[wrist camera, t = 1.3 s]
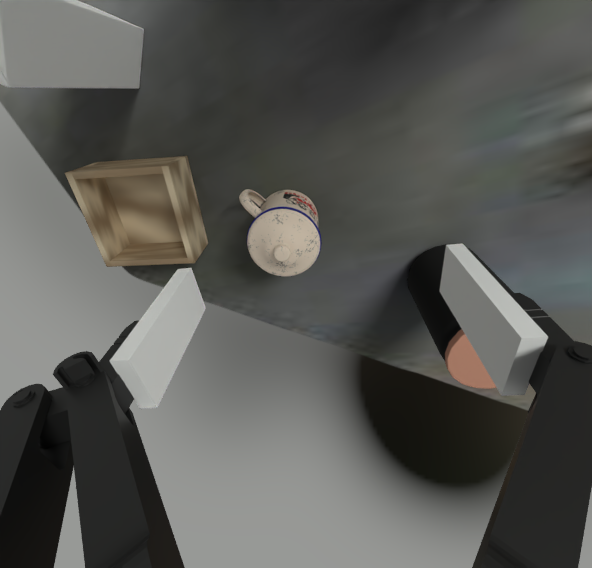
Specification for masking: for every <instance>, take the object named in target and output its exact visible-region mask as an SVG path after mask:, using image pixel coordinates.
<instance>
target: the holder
mask: <svg viewBox="0 0 592 568" xmlns="http://www.w3.org/2000/svg"><path fill="white" fill-rule="evenodd" d="M65 175H66V177H67V179H68V181H69V184H70V186H71V188H72V190H73V192H74V195H75V197H76V199H77V201H78V204H79V206H80V208H81V210H82V213H83V215H84V217H85V219H86V222H87V224H88V226H89V228H90V230H91V233H92V235H93V237H94V239H95V242H96V244H97V246H98V248H99V251H100V253H101V255H102V257H103V259H104V262H105V264H106V266H107V267H112V266H136V265H160V264H184V263H195V262H196V260H197V259H198V258H199V256H200V255H201V253H202V252H203V250H204V249H205V247H206V246H207V244H208V240H207V236H206V232H205V228H204V224H203V220H202V215H201V211H200V207H199V203H198V199H197V195H196V190H195V186H194V182H193V178H192V174H191V170H190V165H189V161H188V157H187V156H179V157H164V158H150V159H135V160H121V161H106V162H96V163H93V164H90V165H87V166H84V167H81V168H78V169H75V170H72V171H69V172H66V173H65Z"/></svg>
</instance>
